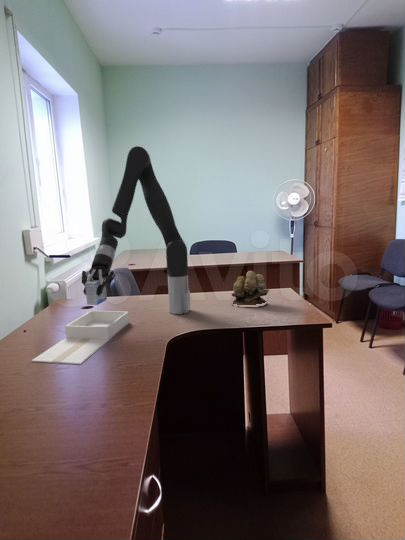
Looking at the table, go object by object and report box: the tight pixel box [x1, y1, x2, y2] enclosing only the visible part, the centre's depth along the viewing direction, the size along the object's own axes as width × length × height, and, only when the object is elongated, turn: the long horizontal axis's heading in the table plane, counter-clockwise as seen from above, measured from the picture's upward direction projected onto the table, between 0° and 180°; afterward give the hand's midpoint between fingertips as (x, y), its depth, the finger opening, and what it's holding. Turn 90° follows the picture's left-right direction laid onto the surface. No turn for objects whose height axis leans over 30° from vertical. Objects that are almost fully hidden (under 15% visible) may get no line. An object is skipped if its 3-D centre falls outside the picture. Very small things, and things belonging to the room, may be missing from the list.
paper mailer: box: [31, 310, 130, 365], centre depth 123 cm, size 17×38×5 cm, turn 169°
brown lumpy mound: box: [231, 270, 270, 305], centre depth 160 cm, size 18×12×17 cm, turn 88°
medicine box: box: [84, 280, 108, 306], centre depth 130 cm, size 8×4×9 cm, turn 168°
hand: (91, 294), depth 127 cm, fingers closed on medicine box, 4 cm apart
